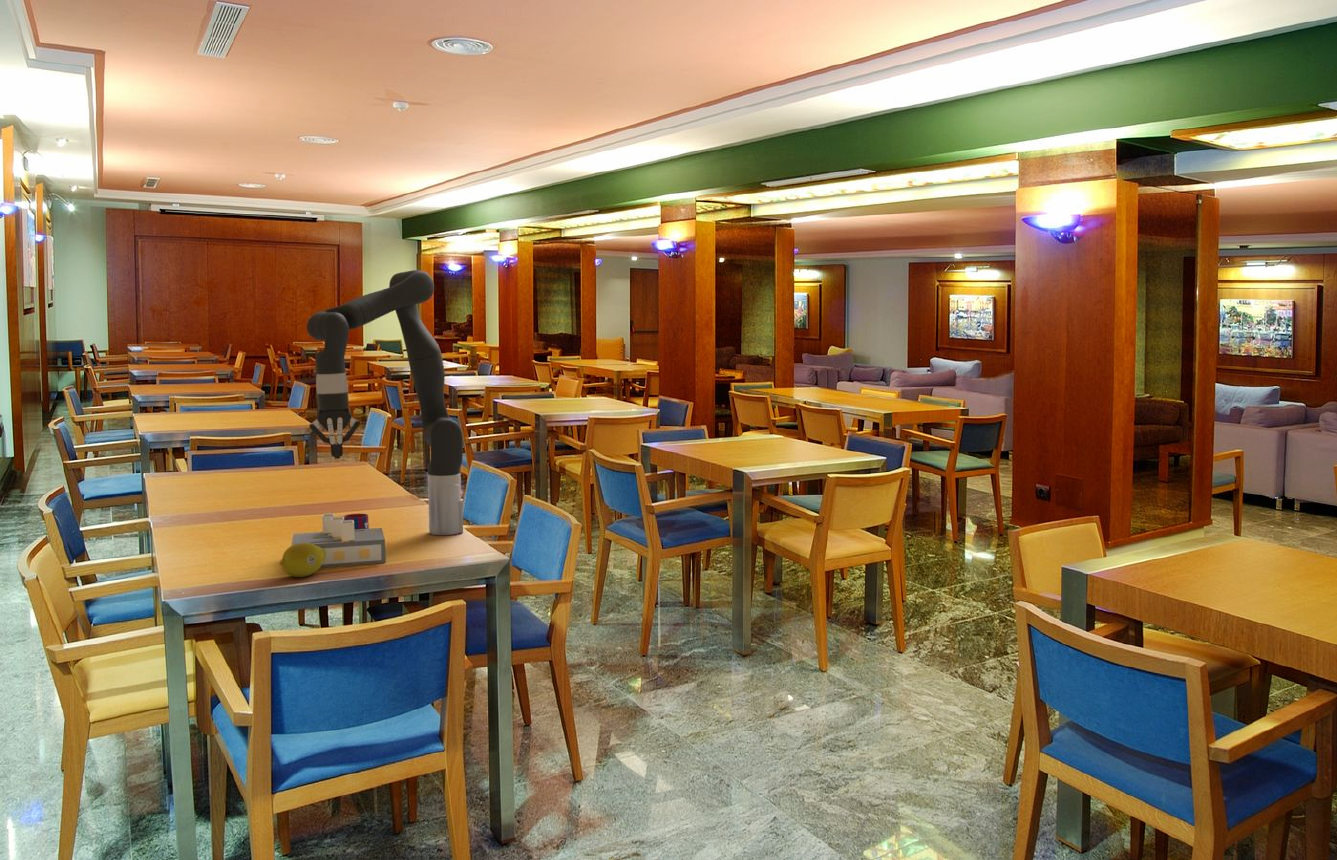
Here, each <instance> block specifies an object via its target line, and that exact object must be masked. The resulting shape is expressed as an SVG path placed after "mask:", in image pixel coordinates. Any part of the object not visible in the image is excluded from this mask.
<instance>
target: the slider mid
mask: <svg viewBox="0 0 1337 860" xmlns="http://www.w3.org/2000/svg"><path fill="white" fill-rule="evenodd" d="M343 516H344V515H343ZM343 516H335V517H333V518H332V537H342V529H341V521H342V520H344V517H343Z"/></svg>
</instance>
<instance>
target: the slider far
mask: <svg viewBox="0 0 1337 860" xmlns="http://www.w3.org/2000/svg"><path fill="white" fill-rule="evenodd" d="M333 517H336V516H335V513H334V512H330V513H329V512H328V513H323V514H321V520H322V524H321V525H322V532H323V534H326V533H332V518H333Z"/></svg>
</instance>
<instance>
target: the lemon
mask: <svg viewBox="0 0 1337 860" xmlns="http://www.w3.org/2000/svg"><path fill="white" fill-rule="evenodd" d="M325 557H326V551H325V550H324V549H323V548H320V547H318V546H316V545H314V544H310V543H299V544H295V545H293V546H289V547H287V549H285V551H284V553H283V555H282V559H281V560H280V562H279V563H280V566H281V567H283V570H284V572H286V574H287V575H289V576H290V577H294V578H305V577H308V576H310V575H311V576H312V574H314V573H316V572H317V571H318V570H319V569H321V568H320V566H321V565H322V562H323V561H324V560H325Z"/></svg>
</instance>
